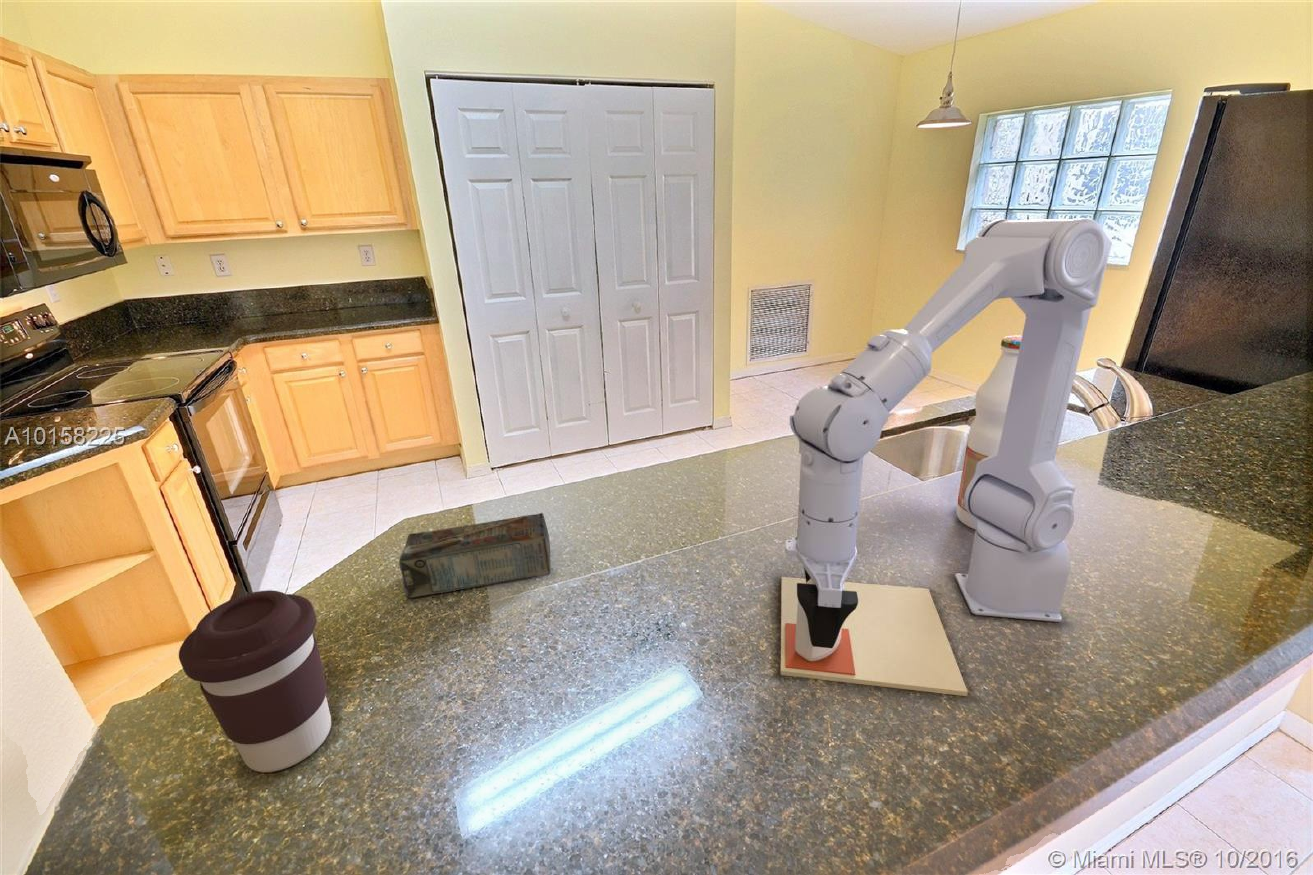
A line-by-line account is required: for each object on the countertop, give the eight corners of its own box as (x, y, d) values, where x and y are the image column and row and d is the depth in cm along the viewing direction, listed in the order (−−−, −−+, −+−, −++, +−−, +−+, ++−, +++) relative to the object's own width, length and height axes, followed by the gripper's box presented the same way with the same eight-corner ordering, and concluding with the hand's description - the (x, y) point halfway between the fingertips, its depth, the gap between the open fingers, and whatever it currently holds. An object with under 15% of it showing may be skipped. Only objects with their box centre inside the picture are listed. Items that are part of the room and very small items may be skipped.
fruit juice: (965, 534, 84) (997, 345, 74) (947, 504, 93) (974, 332, 83) (1036, 538, 83) (1079, 345, 73) (1011, 507, 91) (1046, 331, 81)
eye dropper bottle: (851, 657, 61) (860, 560, 57) (801, 664, 61) (806, 567, 56) (833, 630, 65) (840, 538, 61) (786, 637, 65) (790, 544, 60)
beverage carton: (415, 568, 83) (406, 527, 80) (550, 547, 86) (545, 507, 84) (405, 601, 75) (395, 557, 73) (553, 576, 79) (548, 534, 77)
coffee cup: (265, 705, 60) (219, 583, 54) (363, 696, 60) (327, 574, 55) (202, 795, 50) (140, 658, 45) (319, 782, 51) (271, 646, 46)
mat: (927, 592, 72) (928, 587, 72) (967, 696, 57) (968, 690, 57) (781, 580, 76) (781, 575, 76) (780, 675, 60) (780, 669, 60)
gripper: (786, 476, 64) (782, 578, 69) (786, 544, 51) (781, 665, 56) (852, 478, 63) (843, 583, 68) (870, 550, 50) (857, 673, 55)
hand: (820, 621), depth 62 cm, fingers open, 7 cm apart
